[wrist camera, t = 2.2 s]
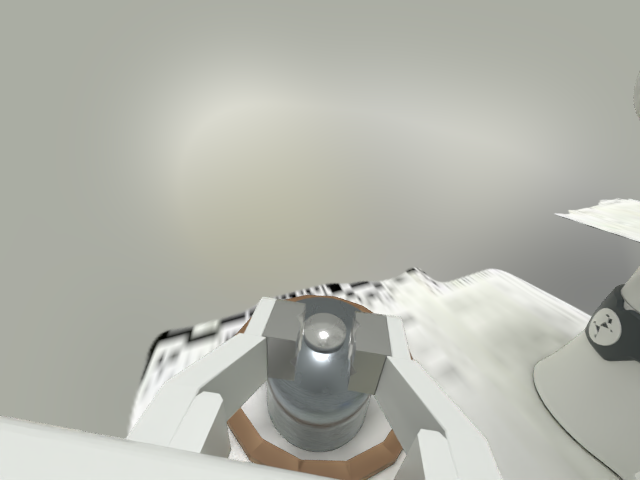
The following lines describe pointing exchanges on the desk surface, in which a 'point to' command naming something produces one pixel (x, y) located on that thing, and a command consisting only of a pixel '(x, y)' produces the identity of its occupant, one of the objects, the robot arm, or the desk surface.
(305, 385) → the metal cover
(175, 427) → the robot arm
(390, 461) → the locating ring
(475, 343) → the desk surface
